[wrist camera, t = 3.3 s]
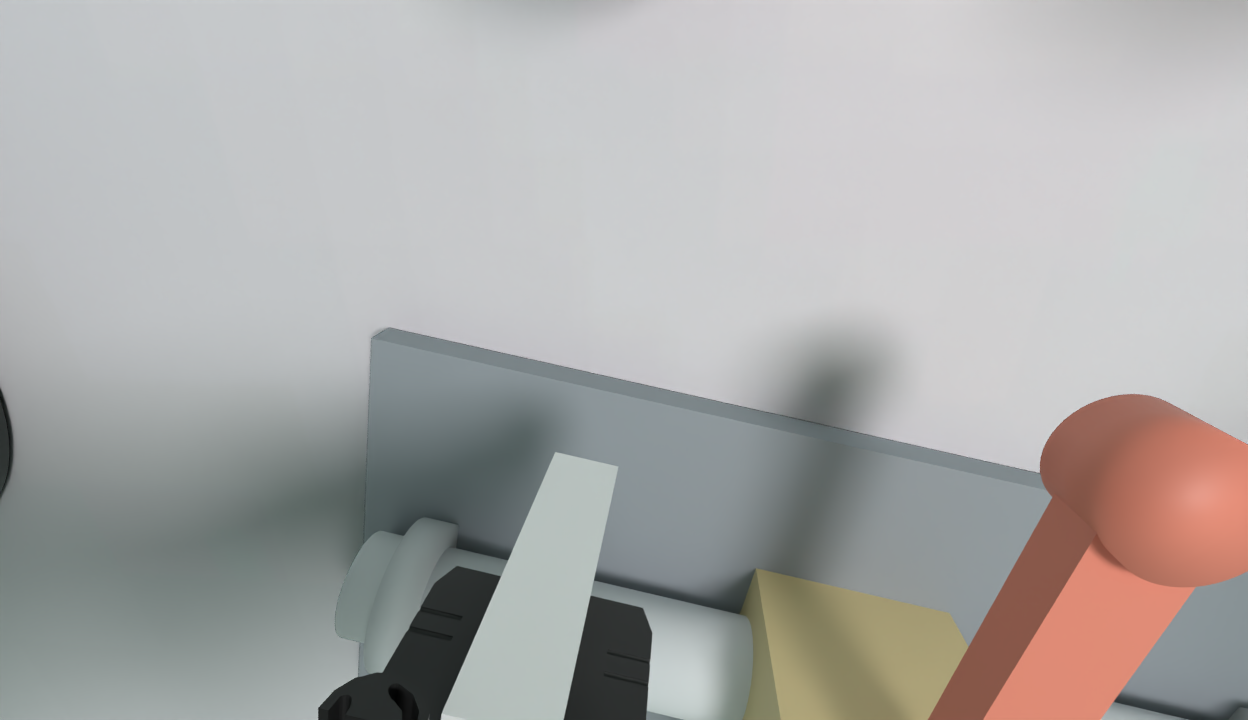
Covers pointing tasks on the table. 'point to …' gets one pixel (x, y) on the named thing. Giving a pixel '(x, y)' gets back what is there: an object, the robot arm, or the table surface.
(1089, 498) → the lever
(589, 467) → the robot arm
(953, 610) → the grey base plate
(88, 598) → the table surface
